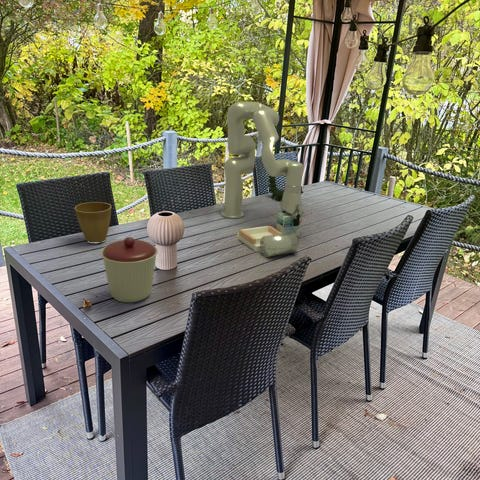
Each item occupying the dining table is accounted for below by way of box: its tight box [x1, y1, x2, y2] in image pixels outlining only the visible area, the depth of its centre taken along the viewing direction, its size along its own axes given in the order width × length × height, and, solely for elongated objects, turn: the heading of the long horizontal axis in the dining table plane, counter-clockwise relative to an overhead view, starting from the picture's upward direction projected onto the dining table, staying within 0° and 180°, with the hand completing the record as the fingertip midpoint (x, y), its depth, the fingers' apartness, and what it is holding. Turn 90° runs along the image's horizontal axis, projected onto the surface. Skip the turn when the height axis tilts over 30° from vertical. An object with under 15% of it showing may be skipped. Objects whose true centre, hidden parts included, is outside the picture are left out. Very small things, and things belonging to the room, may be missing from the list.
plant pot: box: [74, 201, 112, 242], centre depth 183 cm, size 15×15×16 cm
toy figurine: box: [267, 175, 305, 202], centre depth 260 cm, size 9×19×25 cm
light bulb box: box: [275, 212, 303, 237], centre depth 206 cm, size 11×7×11 cm, turn 117°
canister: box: [100, 236, 159, 303], centre depth 140 cm, size 18×18×21 cm
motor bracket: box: [236, 225, 299, 258], centre depth 191 cm, size 28×18×9 cm, turn 29°
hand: (289, 222), depth 206 cm, fingers open, 9 cm apart
